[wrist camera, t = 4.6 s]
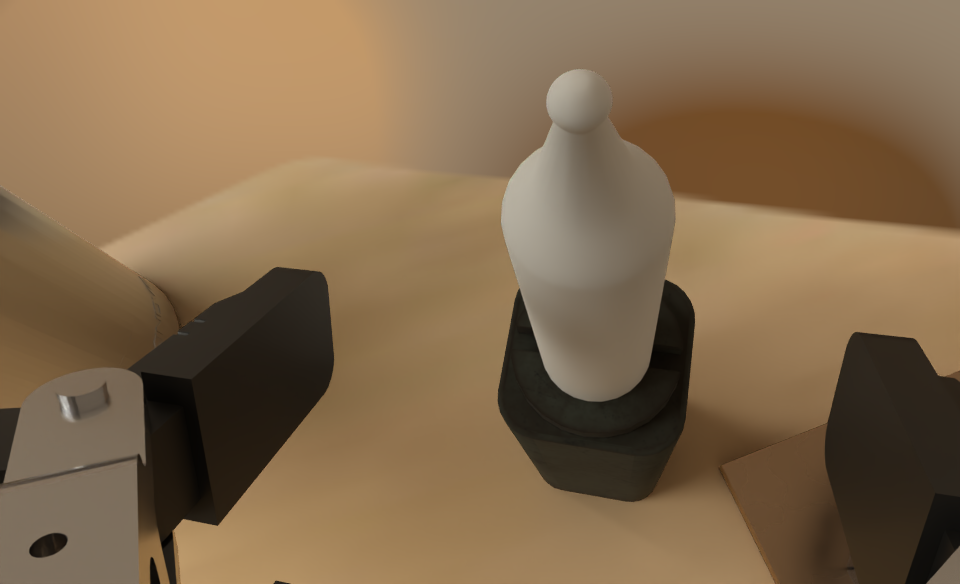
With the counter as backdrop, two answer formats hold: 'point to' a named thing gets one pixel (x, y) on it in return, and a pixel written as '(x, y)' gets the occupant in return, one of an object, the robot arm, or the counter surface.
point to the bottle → (594, 304)
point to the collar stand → (793, 510)
